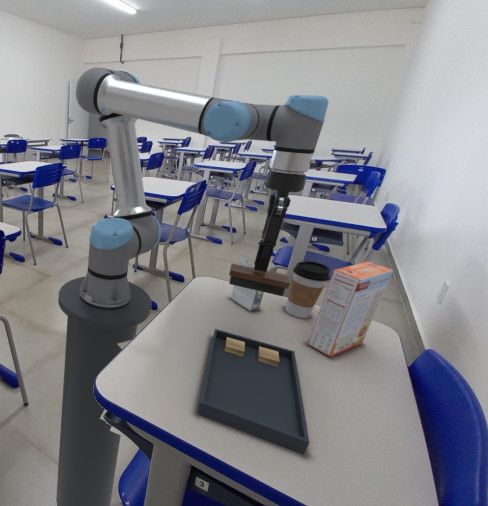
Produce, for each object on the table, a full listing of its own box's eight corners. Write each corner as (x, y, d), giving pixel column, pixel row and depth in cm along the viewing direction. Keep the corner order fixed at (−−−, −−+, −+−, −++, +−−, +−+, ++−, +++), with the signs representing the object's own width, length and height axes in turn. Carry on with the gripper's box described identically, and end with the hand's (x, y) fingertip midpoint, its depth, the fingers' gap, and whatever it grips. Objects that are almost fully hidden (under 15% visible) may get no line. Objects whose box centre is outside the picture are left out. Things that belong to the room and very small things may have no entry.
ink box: (238, 296, 110) (250, 253, 104) (259, 309, 103) (273, 264, 97) (229, 298, 108) (240, 254, 103) (250, 311, 101) (263, 265, 96)
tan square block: (225, 342, 86) (226, 336, 85) (243, 347, 84) (244, 342, 84) (224, 351, 83) (225, 345, 82) (243, 356, 81) (244, 351, 80)
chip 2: (257, 351, 83) (259, 346, 83) (276, 356, 82) (278, 351, 81) (257, 361, 80) (259, 355, 79) (277, 367, 78) (279, 361, 78)
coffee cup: (321, 319, 100) (339, 271, 94) (297, 322, 98) (314, 273, 92) (296, 303, 107) (312, 258, 101) (273, 306, 105) (288, 260, 99)
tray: (212, 337, 89) (214, 328, 88) (290, 360, 82) (294, 351, 81) (197, 413, 66) (200, 402, 65) (304, 454, 59) (309, 442, 58)
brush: (228, 277, 94) (240, 226, 88) (283, 289, 89) (300, 237, 83) (226, 284, 90) (240, 232, 84) (285, 297, 84) (303, 243, 79)
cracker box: (337, 331, 94) (366, 260, 86) (362, 344, 89) (396, 270, 81) (304, 343, 88) (333, 267, 80) (329, 358, 83) (362, 279, 75)
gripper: (311, 178, 70) (278, 283, 79) (303, 169, 83) (276, 260, 92) (269, 174, 73) (242, 275, 82) (268, 165, 86) (244, 254, 95)
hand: (260, 267), depth 87 cm, fingers closed on brush, 3 cm apart
